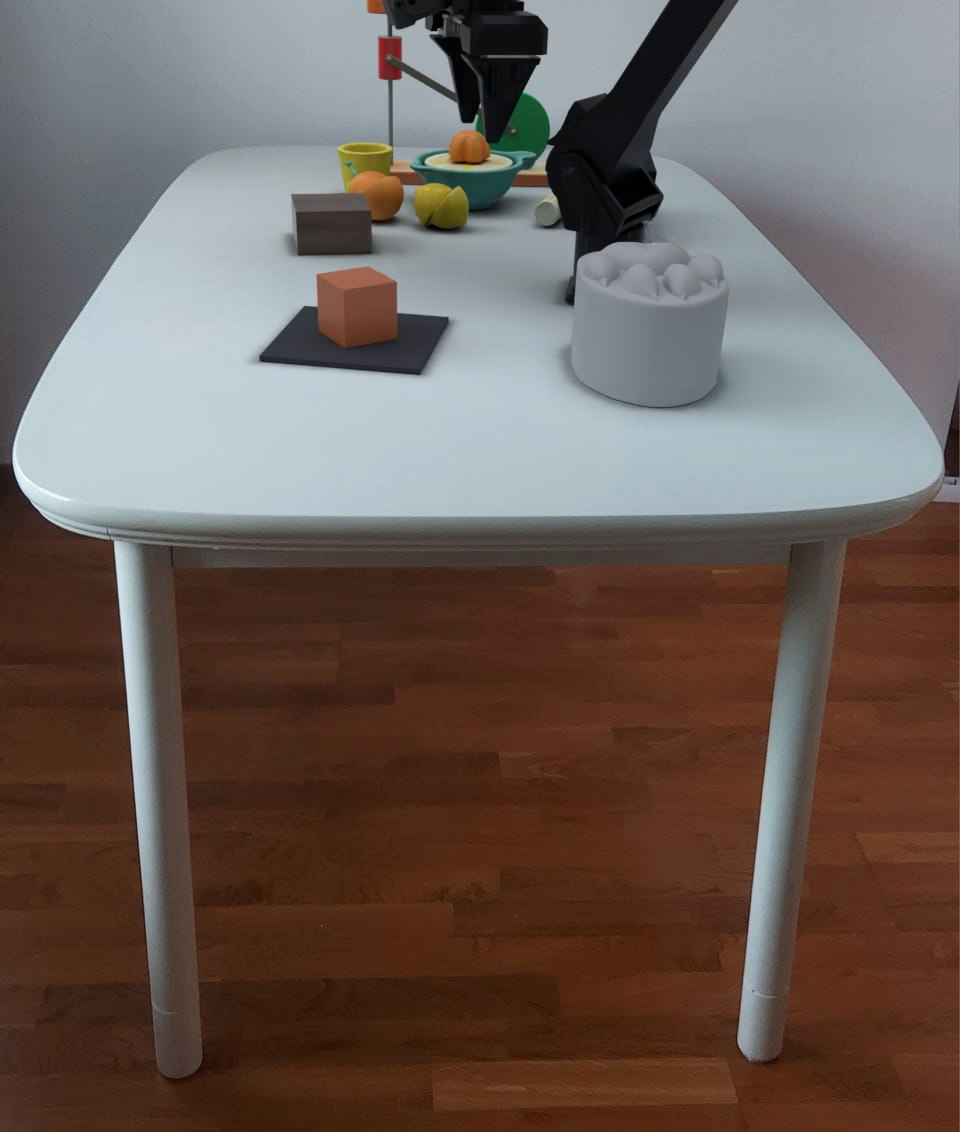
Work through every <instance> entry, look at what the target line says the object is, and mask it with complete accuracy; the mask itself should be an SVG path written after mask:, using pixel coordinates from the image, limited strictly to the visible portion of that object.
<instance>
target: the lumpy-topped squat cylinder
mask: <svg viewBox="0 0 960 1132" xmlns="http://www.w3.org/2000/svg"><path fill="white" fill-rule="evenodd" d="M729 297H730V287H729V284H728V280H727V278H726V277H725V275H724V268H723V264H722V262H721V260H720V259H719V258H718V257H716V256H715V255H713V254H710V253H700V254H698V255H693V254H690V253H688V251H686V249H684V248H683V247H681V246H680V245H678V244H676V243H673V242H660V241H659V242H655V241H654V242H650V243H644V242H643V243H638V242H617V243H613V244H611V245H609V246H607V247H606V248H604V249H603V250H602V251H598V252H592V253H589V254H586V255H584V256H582V257H581V258H580V259H579V260H578V262H577V273H576V287H575V301H574V303H573V304H574V305H573V317H572V318H573V319H572V331H571V346H570V365H571V368H572V370H573V373H574V374H575V377H576V378H577V380H579V382H580V383H581V384H583V385H584V386H586V387H588V388H590V389H592V390H593V391H595V392H597V393H600V394H601V395H604V396H606V397H608V398H611V399H614V400H617V401H620V402H623V403H628V404H630V405H631V404H632V405H637V406H642V407H648V408H672V407H673V408H674V407H679V406H684V405H687V404H691V403H695V402H696V401H699V400H701V399H703V398H705V397H706V396H707V395H708V394H709V393H710V392H711V391H712V390H713V389H714V388H715V387H716V386H717V383H718V375H719V368H720V361H721V354H722V347H723V340H724V333H725V327H726V326H725V325H726V319H727V311H728V303H729Z"/></svg>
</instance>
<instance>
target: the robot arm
mask: <svg viewBox="0 0 960 1132" xmlns="http://www.w3.org/2000/svg"><path fill="white" fill-rule="evenodd" d="M739 1H740V0H668V1H667V3H666V5H665V6H664V8H663V9H662V11H661V12H660V14H659V16H658V18H657V19H656V20H655V22H654V23H653V25H652V27H650V29H649V31H648V33H647V34H646V36H645V38H644V39H643V40H642V42H641V43H640V45H639V47H638V48H637V49H636V51H635V53H634V55H633V56H632V58H631V59H630V61H629V62H628V64H627V65H626V67H625V68H624V70H623V72H622V73H621V75H620V76H619V77H618V80H617V81H616V82H615V84H614V85H613V87H612V88H611V90H610V91H609V92H608V93H607V92H602V93H599V94H596V95H593V96H589V97H586V98H582V99H578V100H575V101H573V103H572V104H571V106H570V108H569V109H568V111H567V113H566V116H565V118H564V120H563V123H562V125H561V127H560V129H558V131H557V132H556V133H555V135H554V136H552V137H551V138H549V140H548V141H547V146H552V148H551V149H550V151H549V152H548V155H547V158H546V160H545V163H546V165H545V171H546V172H547V179H548V184H549V186H550V187H549V188H550V191H551V193H553V194H554V195H555V196H556V198H557V201H558V205H559V209H560V214H561V218H560V219H561V220H562V226H563V228H564V230H566V231H570V232H575V241H574V255H573V256H574V257H573V267H572V268H573V271H572V275H571V276H570V277H569V281H568V283H567V287H566V290H565V294H564V302H565V303H570V304H574V301H575V287H576V273H577V262H578V260H579V259H580V258H581V257H582V256H584V255H586V254H589V253H592V252H598V251H602V250H603V249H604V248H606V247H607V246H609V245H611V244H613V243H617V242H638V243H644V234H645V223H644V222H647V221H646V220H648V219H652V218H653V219H655V218H656V216H657V214H658V212H659V210H660V207H661V205H662V203H663V201H664V199H665V195H664V193H663V191H662V190H661V189H660V187H659V186H658V185H657V183H656V181H655V182H654V181H653V179H652V178H651V176H650V175H649V174H648V172H647V171H646V170H645V168H644V167H643V164H644V162H645V160H646V158H647V156H648V154H649V151H650V152H651V150H652V146H653V142H654V139H655V136H656V131H657V128H658V123H659V120H660V118H661V115H662V113H663V112H664V110H665V109H666V107H667V106H668V104H669V103H670V102H671V100H672V99H673V97H674V96H675V94H676V93H677V92H678V90H679V88H681V85H682V84H683V83H684V81H685V80H686V78H687V77H688V76H689V74H690V72H691V71H692V69H694V66H695V65H696V64H697V63H698V61H699V60H700V58H701V57H702V55H703V53H704V52H705V50H706V49H707V48H708V46H709V45H710V43H711V42H712V40H713V39H714V37H715V36H716V35H717V33H718V32H719V30H720V29H721V27H722V26H723V24H724V23H725V21H726V20H727V19H728V17H729V15H730V14H731V13H732V12H733V10H734V8H735V7H736V6H737V4H738V2H739ZM382 2H383V5H384V8H385V11H386V14H385V15H386V18H387V17H388V20H389V23H390V25H391V26H392V27H394V29H395V30H398V31H400V30H404V29H407V28H410V27H412V26H414V25H416V23H417V21H420V20H422V19H424V29H425V30H427V31H429V32H437V33H430V34H428V36H429V37H428V38H429V39H430V40H431V41H432V42H433V43H434V44H435V45H436V46H437V47H438V48H439V50H441V51H442V52H443V53H444V55H445V56H446V58H447V61H448V66H449V71H450V74H451V79H452V85H453V89H454V92H455V95H456V100H457V103H456V104H457V109H458V114H459V119H460V122H461V123H462V124H473V123H474V122H475V121H476V118H477V115H476V114H477V112H478V109H479V107H480V108H481V111H482V120H483V128H484V135H485V141H486V142H487V143H488V144H496V143H499V142H500V139H501V137H502V135H503V133H504V131H505V129H506V127H507V124H508V122H509V120H510V118H511V116H512V114H513V112H514V109H515V107H516V105H517V103H518V101H519V99H520V97H521V95H522V93H523V92H525V89H526V88H527V85H528V83H529V82H530V79H531V77H532V75H533V73H534V72H535V70H536V68H537V66H539V65H540V64H541V61H542V57H540V56H546V55H548V46H549V45H548V43H549V27H548V26H547V25H546V24H545V23H544V21H543V20H542V19H541V18H540V17H539V15H538V14H535V13H532V12H530V11H527V10H525V1H523V0H382Z"/></svg>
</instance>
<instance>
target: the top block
mask: <svg viewBox="0 0 960 1132" xmlns="http://www.w3.org/2000/svg"><path fill="white" fill-rule="evenodd" d="M315 275H316V277H315V278H316V297H317V298H316V299H317V307H318V326H319V332H321V333H323V334H324V335H326V336H327V337H329V338H330V339H332V340H333V341H335V342H336V343H338V344H339V345H341V346H342V347H344V348H351V347H357V346H362V345H367V344H373V343H378V342H384V341H389V340H395V339H397V313H398V281H397V280H396V279H393V278H391V277H389V276H387V275H386V274H384V273H381V272H380V271H379V270H376V269H374V268H372V267H371V266H362V267H355V268H349V269H342V270H340V269H339V270H334V271H327V272H320V273H316V274H315Z"/></svg>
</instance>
